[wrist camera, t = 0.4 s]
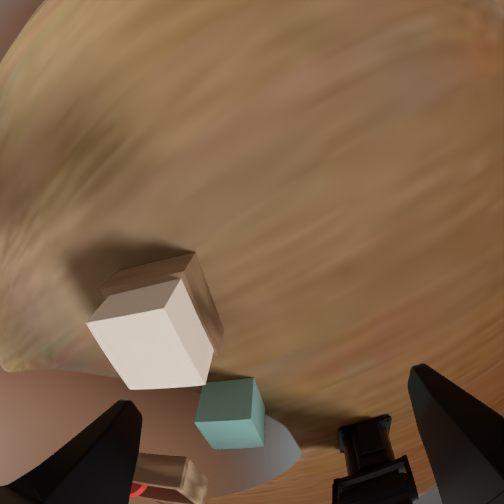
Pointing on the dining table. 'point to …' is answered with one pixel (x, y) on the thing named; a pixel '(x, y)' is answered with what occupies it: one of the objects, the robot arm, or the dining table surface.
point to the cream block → (153, 337)
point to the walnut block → (168, 271)
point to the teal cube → (231, 414)
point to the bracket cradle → (170, 479)
